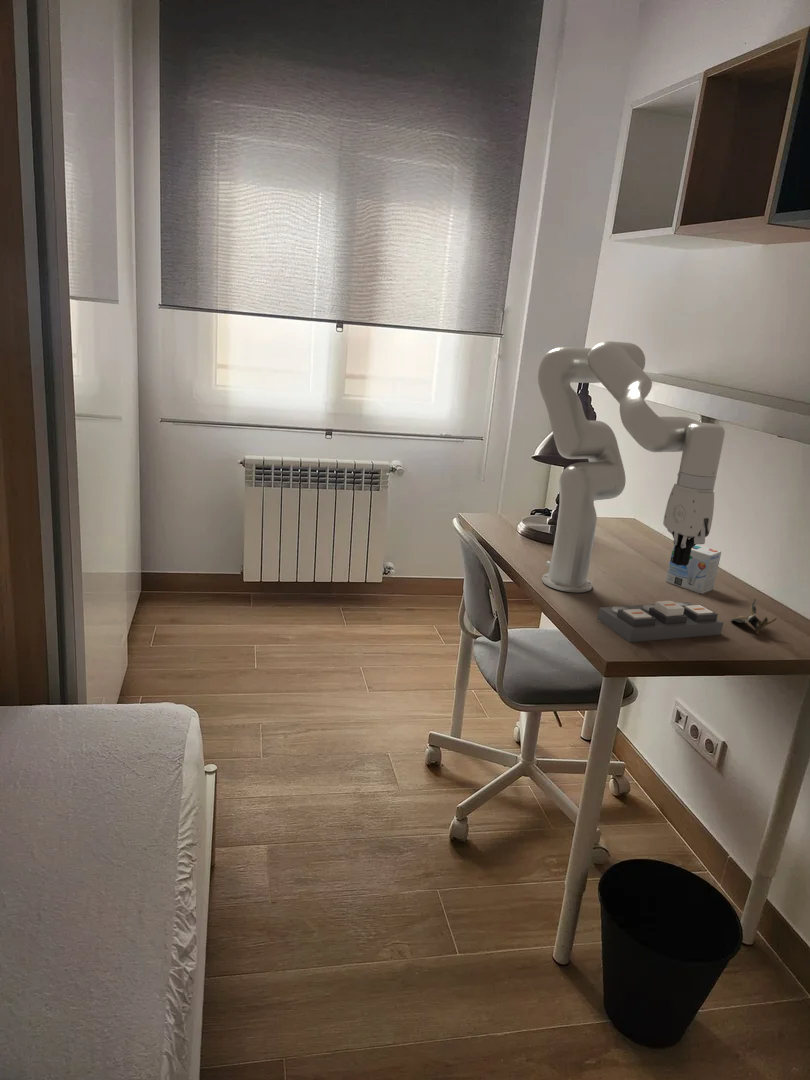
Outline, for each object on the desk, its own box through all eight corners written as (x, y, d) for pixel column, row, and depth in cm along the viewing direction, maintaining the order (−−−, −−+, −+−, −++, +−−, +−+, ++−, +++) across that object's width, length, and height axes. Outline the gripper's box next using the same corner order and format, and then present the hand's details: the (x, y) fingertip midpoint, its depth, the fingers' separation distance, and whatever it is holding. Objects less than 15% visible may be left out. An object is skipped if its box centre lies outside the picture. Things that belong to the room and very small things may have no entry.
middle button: (654, 608, 174) (655, 601, 174) (670, 607, 176) (671, 600, 175) (666, 616, 171) (668, 608, 170) (682, 615, 172) (684, 607, 172)
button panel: (597, 619, 177) (600, 601, 176) (685, 613, 186) (689, 595, 185) (629, 642, 167) (633, 622, 165) (720, 634, 176) (725, 615, 174)
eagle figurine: (780, 630, 178) (757, 609, 186) (774, 609, 175) (751, 587, 182) (750, 645, 179) (728, 623, 186) (743, 624, 175) (722, 602, 183)
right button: (683, 612, 178) (684, 605, 177) (698, 611, 180) (700, 604, 179) (696, 620, 174) (697, 612, 174) (711, 619, 176) (713, 611, 175)
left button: (621, 616, 172) (622, 609, 171) (637, 615, 173) (639, 608, 173) (633, 624, 168) (635, 617, 167) (650, 623, 169) (651, 616, 169)
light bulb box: (664, 582, 208) (672, 543, 205) (676, 577, 213) (684, 540, 210) (702, 594, 201) (711, 555, 198) (713, 589, 206) (722, 551, 202)
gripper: (658, 474, 170) (644, 553, 175) (706, 490, 156) (689, 576, 162) (686, 474, 172) (671, 552, 178) (735, 490, 159) (717, 574, 164)
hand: (680, 563), depth 170 cm, fingers closed
